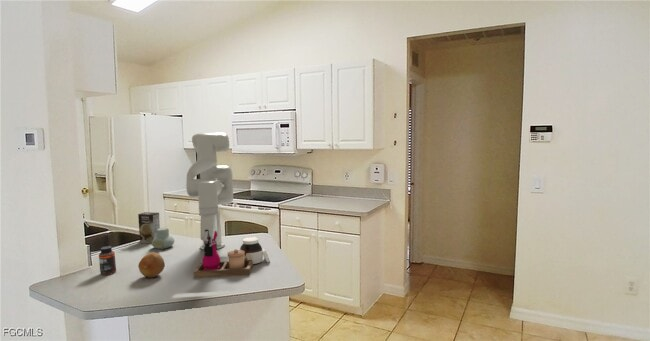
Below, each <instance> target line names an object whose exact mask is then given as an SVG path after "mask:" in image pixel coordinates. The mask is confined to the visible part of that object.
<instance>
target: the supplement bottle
mask: <svg viewBox="0 0 650 341" xmlns="http://www.w3.org/2000/svg"><path fill="white" fill-rule="evenodd" d="M98 261H99V262H98V264H99V273H100V275H102V276H106V275H107V276H108V275H112V274H115V273H116V272H117V265H116V255H115V251H113V249H112V246H111V245H109V246H108V245H107V246H102V247H101V248H100V252H99V254H98Z"/></svg>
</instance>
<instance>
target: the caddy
mask: <svg viewBox="0 0 650 341" xmlns="http://www.w3.org/2000/svg"><path fill="white" fill-rule="evenodd" d="M244 263H245V268H239V269H229V260H228V261H226V260H225V261H220V264H219V265H218V266H219V268H220V270H204V268H205V267H204V266H203V264H202V262H200V263H199V264H198V265H197V267H195V269H194V271H193V278H194V279H198V278H217V277H234V276H235V277H237V276H250V275H251V271H252V268H253V266H254V265H253V263H252V260H244Z"/></svg>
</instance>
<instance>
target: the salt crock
mask: <svg viewBox="0 0 650 341" xmlns="http://www.w3.org/2000/svg"><path fill="white" fill-rule="evenodd" d="M244 254H245V251H243V250H240V249H234V250H231V251H228V252H227V257H228V261H229V269H239V268H245V263H244Z"/></svg>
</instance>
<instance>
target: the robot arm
mask: <svg viewBox="0 0 650 341" xmlns="http://www.w3.org/2000/svg"><path fill="white" fill-rule="evenodd" d="M191 142H192V146H193V148H194V151H195V152H196V161H194V163H193V164H192V165H191V166H190V167H189V169H188V171H187V174H186V179H185V180H186V185H185V186H186V187H185V188H186V193H187V195H188V196H189V197H192V198H197V199H198V215H199V216H200V223H199V224H200V225H199V226H200V228H199V230H200V240H201V241H202V243H201V244H200V245H199V249H201V250H204V251H203V252H204V254H205V256H213V247H212V239H213V238H214V234H215V231H217V237H216V242H217V243H216V251H217V250H218V249H222V248H224V247H225V246H226V243H225V242H224V241H222V224H221V223H222V222H221V219H222V218H221V212H220V210H219V206H220V205H229V204H232V203H233V202H234V184H233V172H232V169H231V167H230V166H228V165H218V164H217V162H218V160H217V157H218V156H217V153H218V152H219V153H220V152H223V153H224V152H228V150H229V148H230V138H229V136H228V134H227V133H225V132H202V133H201V132H200V133H196V134H194V135H193V136H192V138H191ZM198 175H199V177H200V178H195V177H196V176H198ZM222 185H223V186H222ZM208 237H210V239H208ZM209 241H210V243H209ZM204 254H203V255H204Z"/></svg>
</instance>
